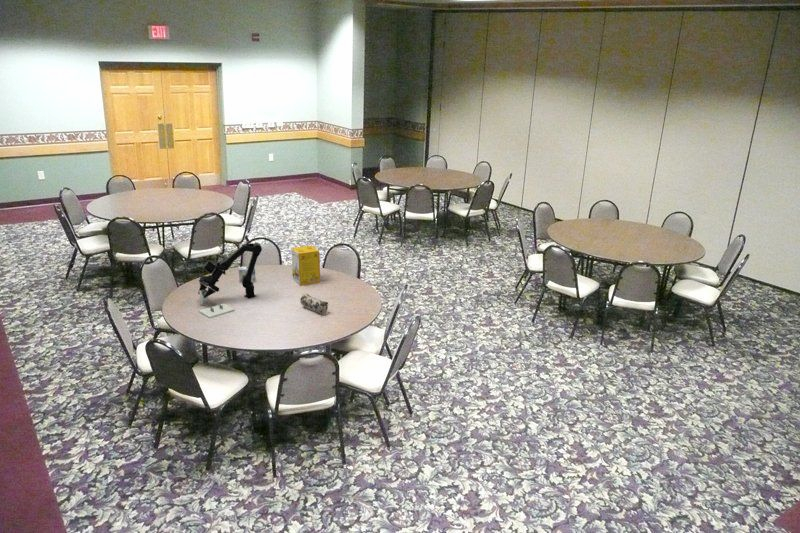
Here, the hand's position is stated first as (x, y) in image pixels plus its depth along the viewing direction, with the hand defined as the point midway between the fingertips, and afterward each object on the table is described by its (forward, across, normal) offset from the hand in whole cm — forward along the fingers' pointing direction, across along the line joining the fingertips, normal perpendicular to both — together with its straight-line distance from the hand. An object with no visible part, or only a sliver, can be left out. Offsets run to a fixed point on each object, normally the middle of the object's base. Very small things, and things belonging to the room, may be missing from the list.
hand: (201, 295), depth 394 cm
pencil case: (-30, +58, +40) cm, 77 cm away
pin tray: (+4, +17, +6) cm, 18 cm away
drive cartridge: (+4, 0, +6) cm, 7 cm away
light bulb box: (-28, -19, +38) cm, 51 cm away
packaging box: (-51, +10, +61) cm, 80 cm away
